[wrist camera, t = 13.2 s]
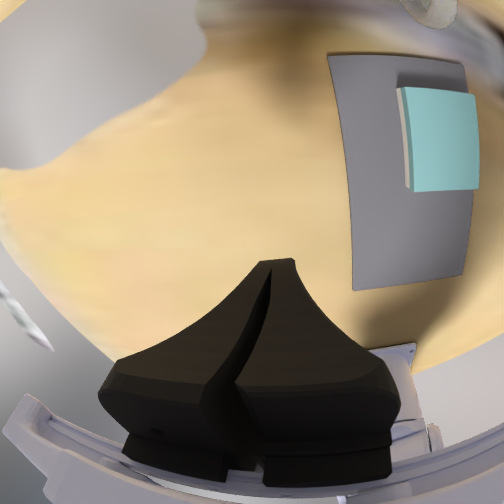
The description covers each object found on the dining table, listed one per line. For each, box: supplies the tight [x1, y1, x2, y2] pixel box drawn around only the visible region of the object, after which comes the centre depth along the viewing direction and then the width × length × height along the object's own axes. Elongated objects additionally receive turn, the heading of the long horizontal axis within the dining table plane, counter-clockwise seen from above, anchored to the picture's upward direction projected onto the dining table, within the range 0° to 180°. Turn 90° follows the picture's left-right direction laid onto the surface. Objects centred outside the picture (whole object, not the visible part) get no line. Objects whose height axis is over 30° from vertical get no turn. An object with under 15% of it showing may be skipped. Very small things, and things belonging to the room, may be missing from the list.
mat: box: [327, 55, 473, 291], centre depth 16 cm, size 18×11×1 cm, turn 12°
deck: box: [396, 87, 479, 192], centre depth 14 cm, size 7×2×6 cm
